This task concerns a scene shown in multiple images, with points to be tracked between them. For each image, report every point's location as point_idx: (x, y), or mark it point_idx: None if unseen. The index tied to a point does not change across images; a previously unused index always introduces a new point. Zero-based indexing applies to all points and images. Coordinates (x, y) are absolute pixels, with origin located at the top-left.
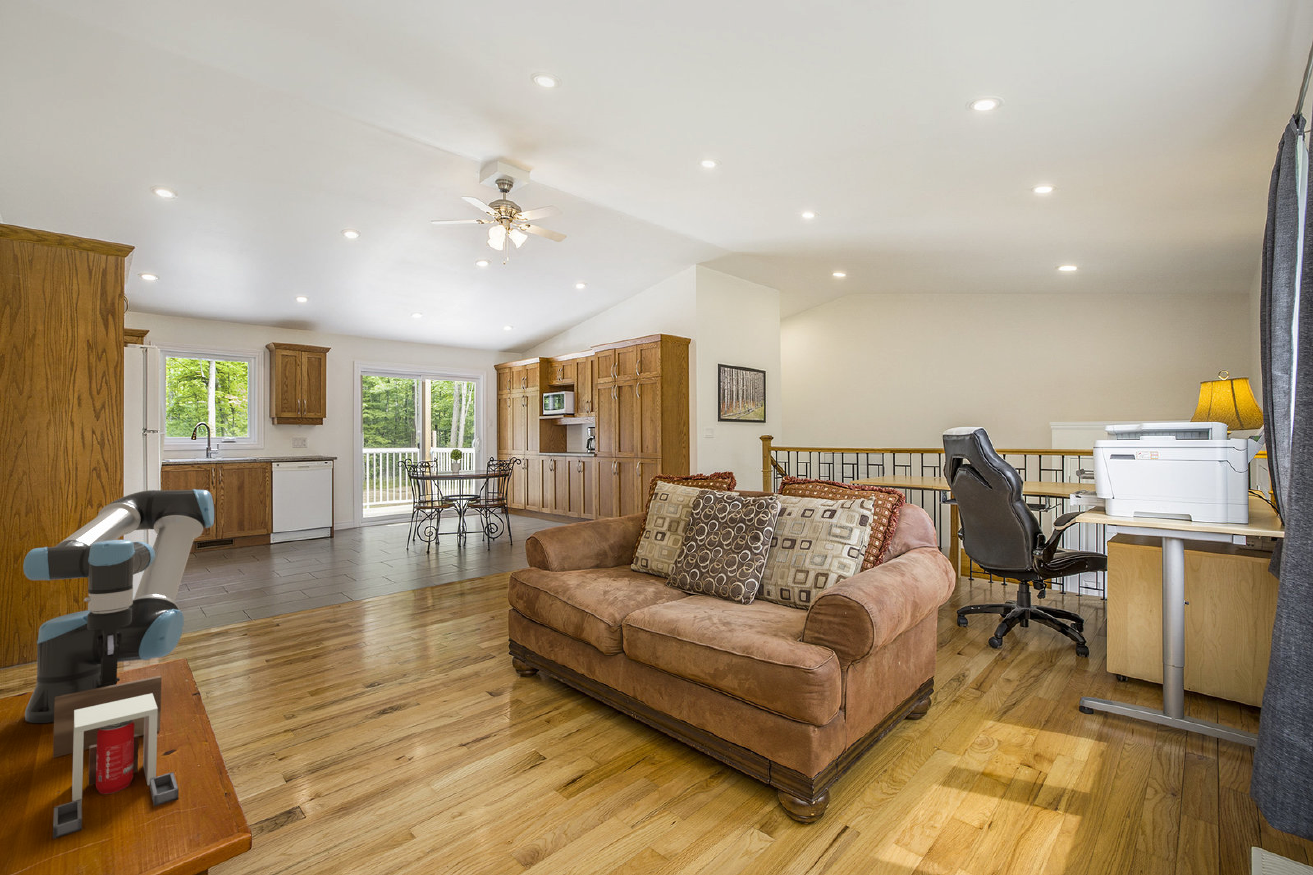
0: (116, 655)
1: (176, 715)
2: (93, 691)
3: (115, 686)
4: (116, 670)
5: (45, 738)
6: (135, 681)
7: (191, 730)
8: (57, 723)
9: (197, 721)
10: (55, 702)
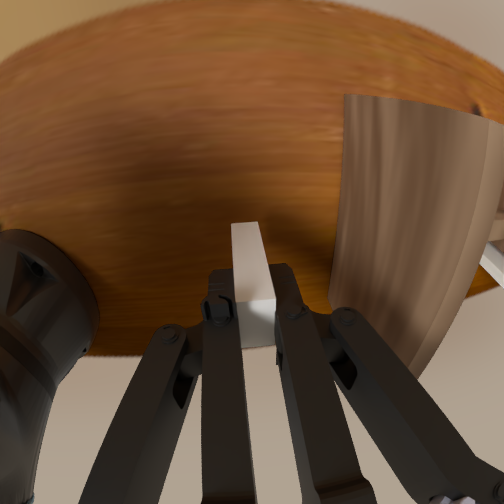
0: (468, 455)
1: (237, 38)
2: (431, 357)
3: (456, 309)
4: (408, 373)
5: (191, 319)
6: (475, 243)
7: (404, 40)
8: None
9: (347, 6)
10: None
